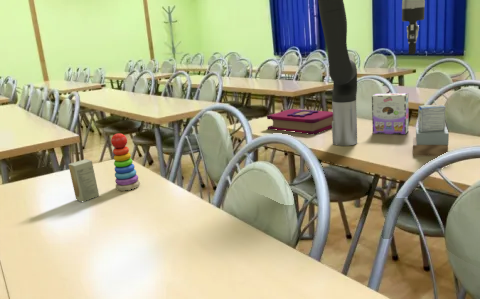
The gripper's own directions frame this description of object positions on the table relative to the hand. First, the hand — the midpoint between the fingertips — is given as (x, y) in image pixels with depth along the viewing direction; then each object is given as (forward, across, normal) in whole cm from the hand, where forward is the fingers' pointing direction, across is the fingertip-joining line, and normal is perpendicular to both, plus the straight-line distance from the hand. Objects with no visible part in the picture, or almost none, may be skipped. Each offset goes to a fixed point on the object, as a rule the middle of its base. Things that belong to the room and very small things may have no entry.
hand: (412, 53), depth 164 cm
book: (+35, -25, -49) cm, 65 cm away
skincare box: (+35, +74, -94) cm, 125 cm away
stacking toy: (+35, +63, -86) cm, 112 cm away
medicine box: (+26, +13, +7) cm, 30 cm away
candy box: (+34, -15, -8) cm, 38 cm away
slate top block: (+30, +12, +7) cm, 33 cm away
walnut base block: (+34, +13, +7) cm, 37 cm away
